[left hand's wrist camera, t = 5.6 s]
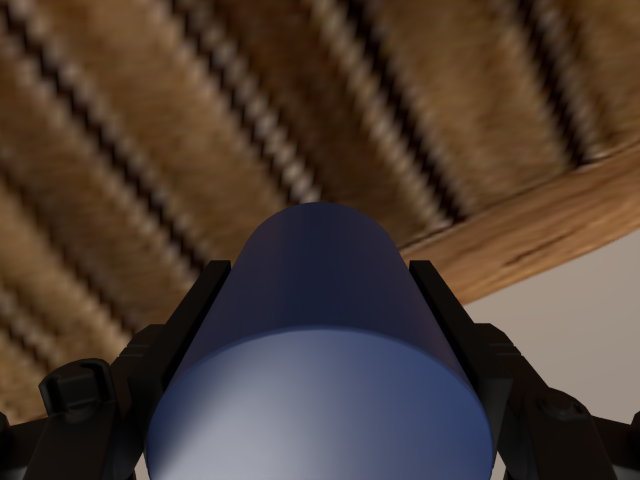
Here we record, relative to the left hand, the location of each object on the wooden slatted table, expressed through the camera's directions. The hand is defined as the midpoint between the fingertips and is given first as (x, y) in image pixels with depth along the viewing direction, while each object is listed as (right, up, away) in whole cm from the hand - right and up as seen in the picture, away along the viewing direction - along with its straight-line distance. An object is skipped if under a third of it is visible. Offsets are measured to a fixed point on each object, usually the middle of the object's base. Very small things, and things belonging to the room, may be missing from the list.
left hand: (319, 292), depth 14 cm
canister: (0, 0, +1) cm, 1 cm away
